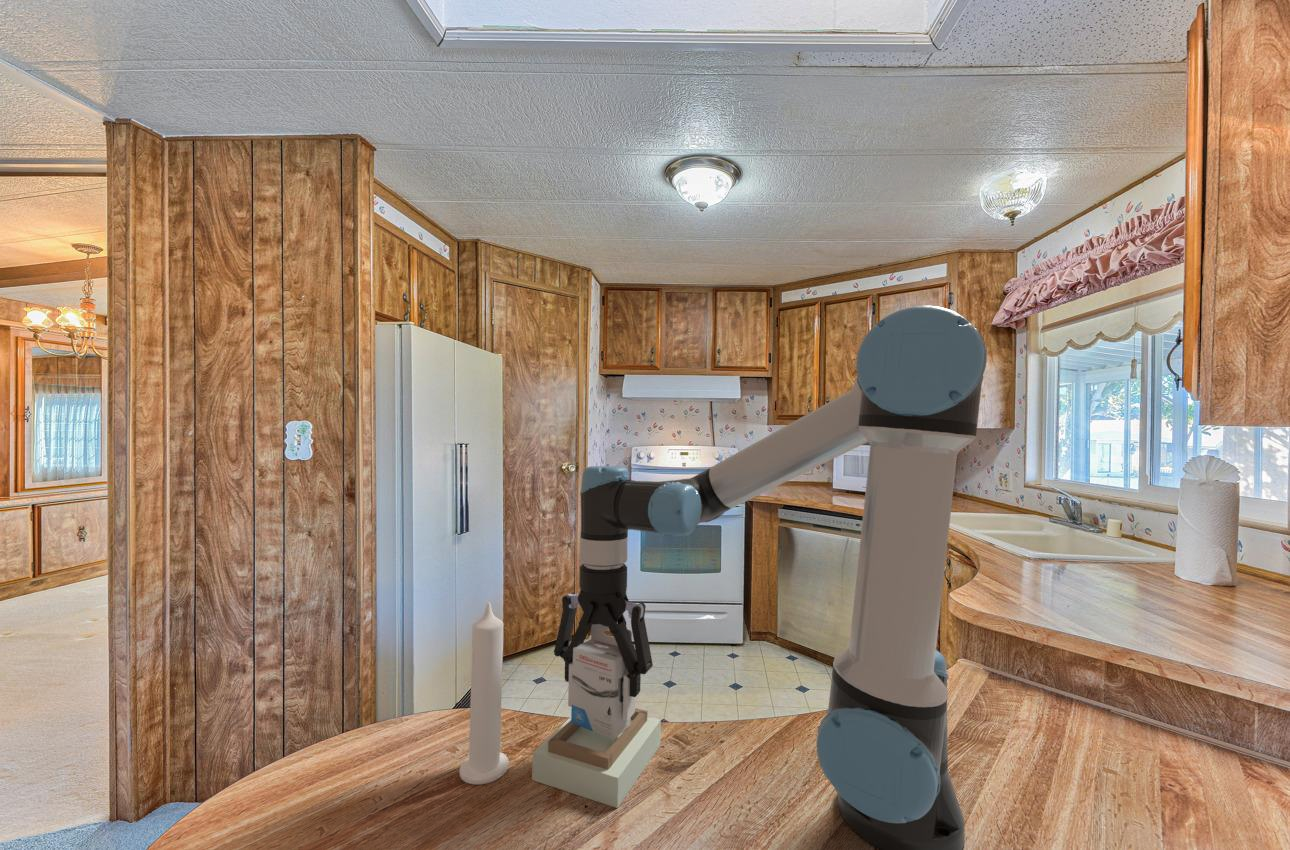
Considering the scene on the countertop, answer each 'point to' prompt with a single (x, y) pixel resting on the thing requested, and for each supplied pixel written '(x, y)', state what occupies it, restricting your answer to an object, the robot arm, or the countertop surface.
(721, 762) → the countertop surface
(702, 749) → the countertop surface
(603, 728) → the ink box
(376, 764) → the countertop surface
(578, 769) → the display stand
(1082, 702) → the countertop surface
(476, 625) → the candle
